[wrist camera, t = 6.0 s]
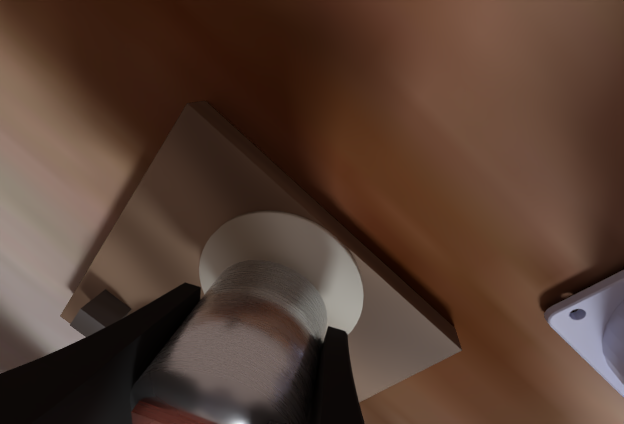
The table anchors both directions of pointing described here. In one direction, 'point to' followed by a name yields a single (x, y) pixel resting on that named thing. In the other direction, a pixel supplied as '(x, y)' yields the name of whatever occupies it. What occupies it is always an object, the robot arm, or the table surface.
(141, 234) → the base board
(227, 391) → the knob
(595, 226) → the table surface
